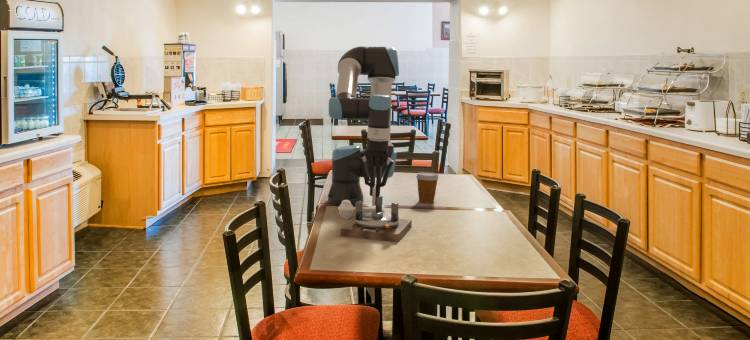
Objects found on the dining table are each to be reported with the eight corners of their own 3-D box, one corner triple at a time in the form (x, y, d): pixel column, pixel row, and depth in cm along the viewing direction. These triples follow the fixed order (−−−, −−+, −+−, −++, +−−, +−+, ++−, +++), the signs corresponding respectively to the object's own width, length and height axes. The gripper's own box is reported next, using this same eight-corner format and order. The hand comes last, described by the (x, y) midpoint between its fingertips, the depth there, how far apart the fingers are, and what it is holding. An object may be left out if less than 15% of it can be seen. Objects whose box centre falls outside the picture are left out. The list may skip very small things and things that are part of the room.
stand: (340, 235, 200) (340, 226, 199) (358, 221, 219) (358, 212, 218) (398, 241, 195) (398, 232, 194) (411, 226, 214) (411, 217, 213)
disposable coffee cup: (436, 204, 250) (437, 176, 248) (413, 203, 252) (414, 174, 250) (438, 199, 259) (439, 172, 257) (416, 198, 261) (417, 171, 259)
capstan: (347, 224, 203) (347, 201, 202) (369, 215, 216) (369, 194, 215) (387, 231, 196) (388, 207, 195) (408, 222, 209) (408, 199, 207)
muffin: (346, 220, 220) (346, 202, 219) (334, 217, 224) (334, 199, 223) (357, 217, 225) (357, 199, 223) (345, 214, 229) (346, 197, 227)
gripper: (357, 139, 207) (354, 205, 211) (392, 142, 203) (388, 209, 208) (363, 136, 214) (360, 200, 218) (398, 139, 210) (394, 204, 215)
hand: (374, 205), depth 213 cm, fingers closed
